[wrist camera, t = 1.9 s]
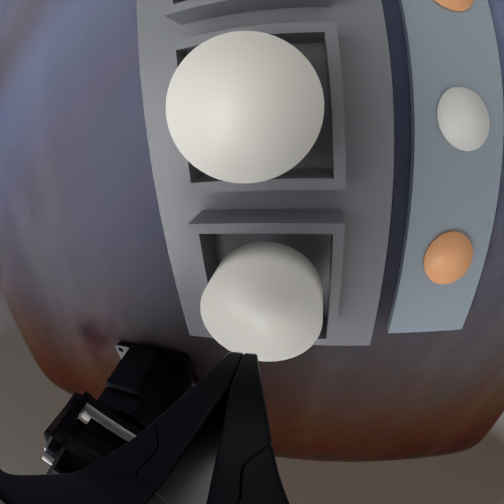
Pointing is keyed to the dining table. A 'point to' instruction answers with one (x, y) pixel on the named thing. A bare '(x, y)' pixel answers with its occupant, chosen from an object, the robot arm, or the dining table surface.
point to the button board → (297, 178)
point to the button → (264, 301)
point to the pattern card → (448, 161)
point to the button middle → (244, 107)
